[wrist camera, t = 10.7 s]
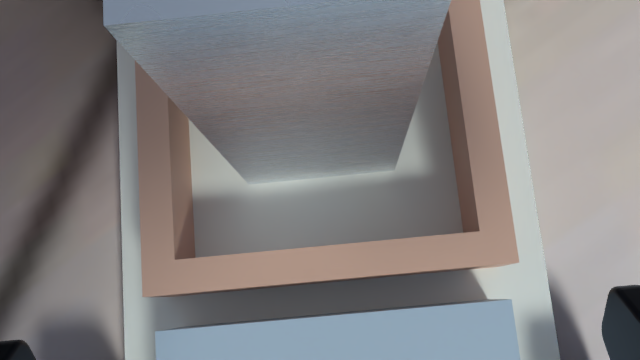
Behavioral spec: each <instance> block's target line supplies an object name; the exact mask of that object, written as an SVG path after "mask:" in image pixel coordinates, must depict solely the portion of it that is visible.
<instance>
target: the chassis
mask: <svg viewBox="0 0 640 360" xmlns="http://www.w3.org/2000/svg"><path fill="white" fill-rule="evenodd" d="M117 77H118V115H119V153H120V191H121V229H122V267H123V305H124V344H125V360H561V359H560V353H559V347H558V341H557V334H556V328H555V322H554V315H553V309H552V303H551V297H550V290H549V284H548V278H547V271H546V265H545V259H544V253H543V246H542V240H541V234H540V227H539V221H538V215H537V209H536V202H535V196H534V190H533V183H532V177H531V171H530V165H529V158H528V152H527V146H526V139H525V133H524V127H523V121H522V114H521V108H520V102H519V95H518V89H517V83H516V77H515V70H514V64H513V58H512V51H511V45H510V39H509V33H508V26H507V20H506V14H505V7H504V1H503V0H451V2H450V5H449V8H448V11H447V14H446V17H445V20H444V23H443V26H442V29H441V32H440V35H439V38H438V41H437V44H436V47H435V50H434V53H433V56H432V59H431V62H430V65H429V68H428V71H427V74H426V77H425V80H424V83H423V86H422V89H421V92H420V95H419V98H418V101H417V104H416V107H415V110H414V113H413V116H412V119H411V122H410V125H409V128H408V131H407V134H406V137H405V140H404V144H403V147H402V150H401V153H400V156H399V159H398V162H397V165H396V168H395V170H394V171H384V172H374V173H364V174H353V175H343V176H333V177H323V178H312V179H302V180H292V181H282V182H271V183H261V184H251V185H249V184H248V183H247V182H246V181H245V180H244V179H243V178H242V177H241V175H240V174H239V173H238V172H237V171H236V170H235V169H234V168H233V167H232V166H231V165H230V163H229V162H228V161H227V160H226V159H225V158H224V157H223V156H222V155H221V154H220V152H219V151H218V150H217V149H216V148H215V147H214V146H213V145H212V144H211V143H210V142H209V140H208V139H207V138H206V137H205V136H204V135H203V134H202V133H201V132H200V131H199V130H198V128H197V127H196V126H195V125H194V124H193V123H192V122H191V121H190V120H189V119H188V117H187V116H186V115H185V114H184V113H183V112H182V111H181V110H180V109H179V108H178V107H177V105H176V104H175V103H174V102H173V101H172V100H171V99H170V98H169V97H168V96H167V95H166V93H165V92H164V91H163V90H162V89H161V88H160V87H159V86H158V85H157V84H156V82H155V81H154V80H153V79H152V78H151V77H150V76H149V75H148V74H147V73H146V72H145V70H144V69H143V68H142V67H141V66H140V65H139V64H138V63H137V62H136V61H135V60H134V58H133V57H132V56H131V55H130V54H129V53H128V52H127V51H126V50H125V49H124V47H123V46H122V45H121V44H120V43H119V42H118V41H117Z"/></svg>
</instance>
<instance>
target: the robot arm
mask: <svg viewBox="0 0 640 360" xmlns="http://www.w3.org/2000/svg"><path fill="white" fill-rule="evenodd" d="M602 336H603V340H604V343H605V346H606V349H607V352H608V355H609V357H610V360H640V285H629V286H617V287H614V288H612V289H611V290H610V292H609V294H608V299H607V303H606V308H605V312H604V317H603V321H602ZM0 360H36V359H35V357H34V355H33V353H32V351H31V349H30V347H29V346H28V344H27V343H26V342H25V341H23V340H11V341H0Z"/></svg>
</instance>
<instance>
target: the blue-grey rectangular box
mask: <svg viewBox="0 0 640 360" xmlns="http://www.w3.org/2000/svg"><path fill="white" fill-rule="evenodd" d="M450 2H451V0H103V23H104V27H105V28H106V29H107V30H108V31H109V32H110V33H111V34H112V35H113V37H114V38H115V39H116V40H117V41H118V42H119V43H120V44H121V45H122V46H123V47H124V49H125V50H126V51H127V52H128V53H129V54H130V55H131V56H132V57H133V58H134V60H135V61H136V62H137V63H138V64H139V65H140V66H141V67H142V68H143V69H144V70H145V72H146V73H147V74H148V75H149V76H150V77H151V78H152V79H153V80H154V81H155V82H156V84H157V85H158V86H159V87H160V88H161V89H162V90H163V91H164V92H165V93H166V95H167V96H168V97H169V98H170V99H171V100H172V101H173V102H174V103H175V104H176V105H177V107H178V108H179V109H180V110H181V111H182V112H183V113H184V114H185V115H186V116H187V117H188V119H189V120H190V121H191V122H192V123H193V124H194V125H195V126H196V127H197V128H198V130H199V131H200V132H201V133H202V134H203V135H204V136H205V137H206V138H207V139H208V140H209V142H210V143H211V144H212V145H213V146H214V147H215V148H216V149H217V150H218V151H219V152H220V154H221V155H222V156H223V157H224V158H225V159H226V160H227V161H228V162H229V163H230V165H231V166H232V167H233V168H234V169H235V170H236V171H237V172H238V173H239V174H240V175H241V177H242V178H243V179H244V180H245V181H246V182H247V183H248V184H249V185H251V184H261V183H271V182H282V181H292V180H302V179H312V178H323V177H333V176H343V175H353V174H364V173H374V172H384V171H394V170H395V168H396V165H397V162H398V159H399V156H400V153H401V150H402V147H403V144H404V140H405V137H406V134H407V131H408V128H409V125H410V122H411V119H412V116H413V113H414V110H415V107H416V104H417V101H418V98H419V95H420V92H421V89H422V86H423V83H424V80H425V77H426V74H427V71H428V68H429V65H430V62H431V59H432V56H433V53H434V50H435V47H436V44H437V41H438V38H439V35H440V32H441V29H442V26H443V23H444V20H445V17H446V14H447V11H448V8H449V5H450Z"/></svg>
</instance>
